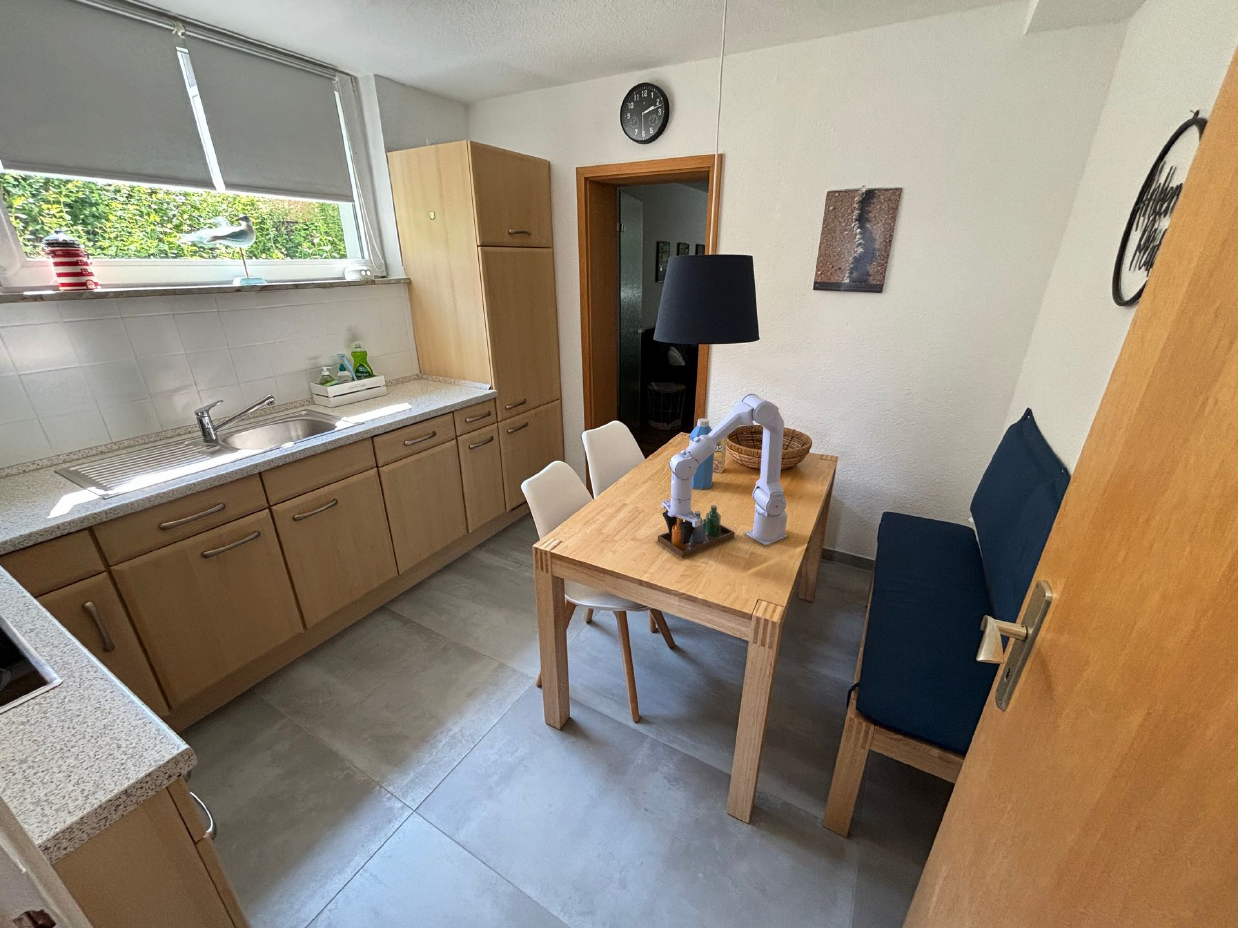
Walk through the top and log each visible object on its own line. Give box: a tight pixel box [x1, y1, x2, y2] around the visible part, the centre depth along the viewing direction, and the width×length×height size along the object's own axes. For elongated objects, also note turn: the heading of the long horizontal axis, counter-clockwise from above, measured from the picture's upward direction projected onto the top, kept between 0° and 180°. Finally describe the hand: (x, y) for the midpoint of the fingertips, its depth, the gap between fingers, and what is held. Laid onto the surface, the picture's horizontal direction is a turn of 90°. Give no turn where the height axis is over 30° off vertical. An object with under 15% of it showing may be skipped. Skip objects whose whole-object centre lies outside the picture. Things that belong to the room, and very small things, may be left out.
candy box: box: [713, 435, 728, 474], centre depth 196 cm, size 9×4×15 cm, turn 62°
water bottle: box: [688, 417, 714, 490], centre depth 181 cm, size 9×9×25 cm
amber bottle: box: [672, 518, 687, 550], centre depth 143 cm, size 4×4×9 cm
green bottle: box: [705, 504, 722, 537], centre depth 149 cm, size 4×4×9 cm
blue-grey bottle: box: [690, 510, 705, 543], centre depth 146 cm, size 4×4×9 cm
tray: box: [657, 518, 735, 559], centre depth 148 cm, size 20×11×2 cm, turn 123°
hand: (679, 538), depth 144 cm, fingers open, 5 cm apart
